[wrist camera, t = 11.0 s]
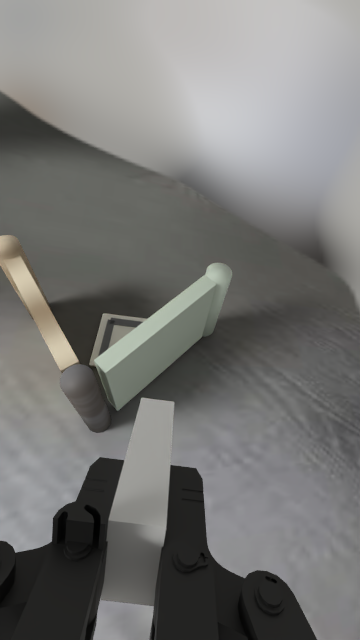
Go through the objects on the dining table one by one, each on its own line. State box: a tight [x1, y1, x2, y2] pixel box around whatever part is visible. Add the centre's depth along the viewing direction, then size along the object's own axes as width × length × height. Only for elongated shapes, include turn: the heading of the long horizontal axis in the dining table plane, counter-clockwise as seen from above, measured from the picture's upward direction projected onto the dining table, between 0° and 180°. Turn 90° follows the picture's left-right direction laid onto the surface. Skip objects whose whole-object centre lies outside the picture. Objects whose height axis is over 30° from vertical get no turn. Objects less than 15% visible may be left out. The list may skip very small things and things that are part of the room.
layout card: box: [89, 313, 147, 367], centre depth 31 cm, size 6×6×1 cm
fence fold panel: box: [94, 263, 232, 411], centre depth 27 cm, size 12×2×8 cm, turn 135°
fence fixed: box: [0, 235, 111, 433], centre depth 26 cm, size 14×2×10 cm, turn 34°
